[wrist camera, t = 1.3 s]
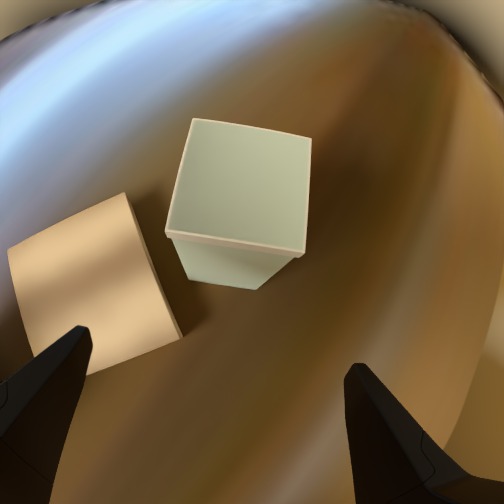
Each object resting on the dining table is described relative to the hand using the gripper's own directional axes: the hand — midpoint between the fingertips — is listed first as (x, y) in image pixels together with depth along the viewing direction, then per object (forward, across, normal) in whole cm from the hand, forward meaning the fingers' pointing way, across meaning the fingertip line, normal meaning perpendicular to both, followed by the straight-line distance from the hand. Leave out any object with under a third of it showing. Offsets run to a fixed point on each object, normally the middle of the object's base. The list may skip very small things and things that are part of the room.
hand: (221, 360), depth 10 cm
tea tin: (+14, 0, +4) cm, 14 cm away
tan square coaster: (+10, +10, +8) cm, 17 cm away
